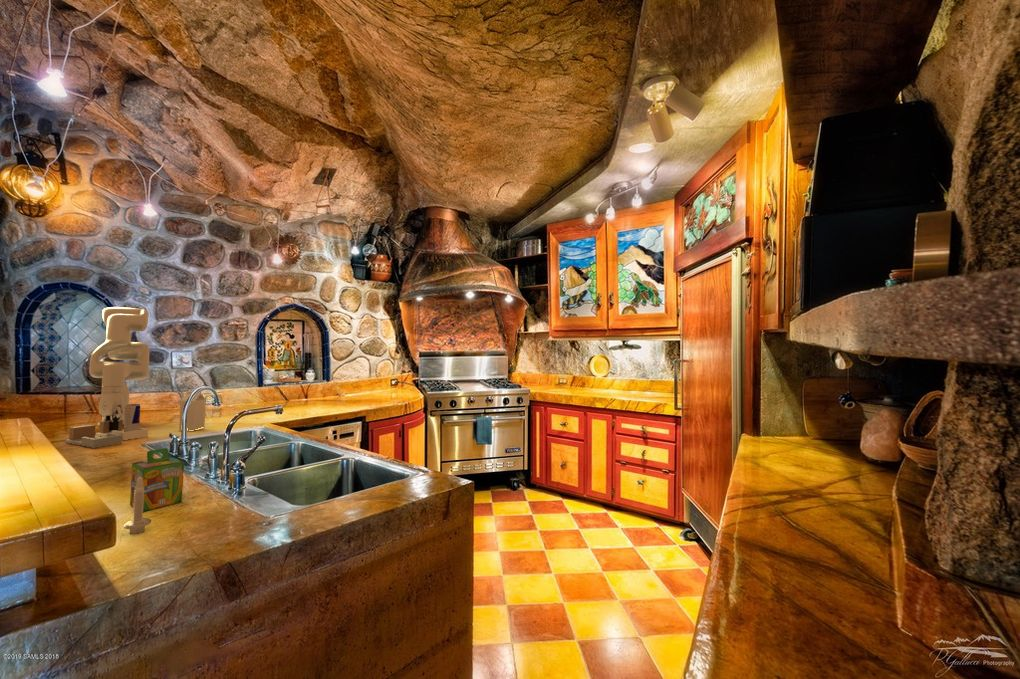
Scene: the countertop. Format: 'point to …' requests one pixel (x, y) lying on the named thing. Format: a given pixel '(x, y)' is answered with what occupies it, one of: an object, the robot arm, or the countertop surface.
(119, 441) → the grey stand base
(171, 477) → the chalk box
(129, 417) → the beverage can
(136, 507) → the screw
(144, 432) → the pale strip
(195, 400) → the milk carton
